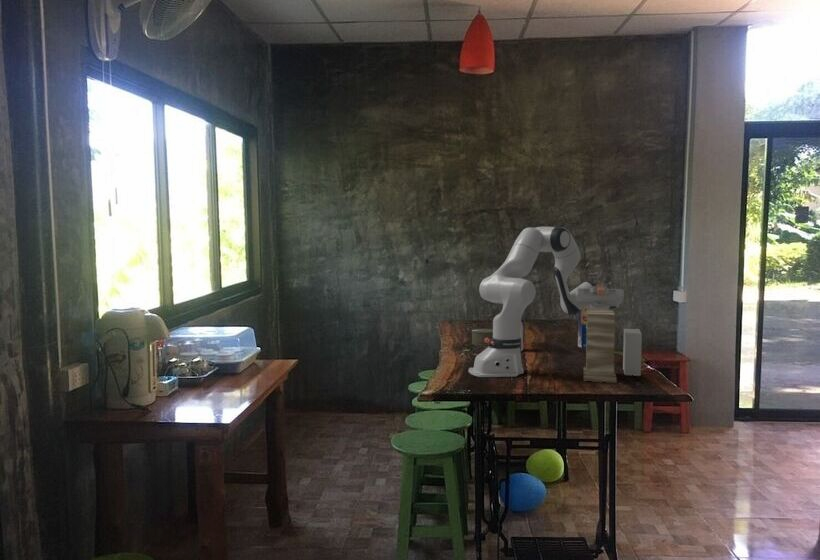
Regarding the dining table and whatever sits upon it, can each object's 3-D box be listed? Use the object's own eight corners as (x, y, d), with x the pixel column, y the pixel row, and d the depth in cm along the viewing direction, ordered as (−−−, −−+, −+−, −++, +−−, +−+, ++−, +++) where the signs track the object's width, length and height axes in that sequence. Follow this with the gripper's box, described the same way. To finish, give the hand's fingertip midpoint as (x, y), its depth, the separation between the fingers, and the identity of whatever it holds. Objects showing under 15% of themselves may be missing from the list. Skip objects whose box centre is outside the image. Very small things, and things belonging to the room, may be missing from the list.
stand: (616, 383, 242) (617, 315, 239) (583, 381, 245) (584, 314, 243) (613, 372, 259) (615, 309, 257) (583, 371, 262) (584, 308, 260)
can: (494, 346, 320) (494, 332, 319) (470, 345, 322) (470, 331, 321) (495, 341, 332) (495, 328, 331) (472, 341, 334) (472, 328, 333)
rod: (604, 296, 251) (604, 289, 251) (598, 296, 251) (598, 289, 251) (602, 290, 275) (602, 284, 275) (596, 290, 275) (596, 284, 275)
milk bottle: (522, 352, 303) (523, 310, 301) (506, 351, 304) (506, 310, 303) (523, 349, 310) (523, 308, 309) (507, 348, 312) (507, 308, 310)
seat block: (640, 375, 253) (641, 333, 252) (624, 375, 255) (625, 333, 254) (638, 369, 265) (639, 329, 264) (622, 368, 266) (623, 328, 265)
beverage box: (603, 348, 312) (604, 303, 310) (581, 348, 312) (582, 303, 310) (599, 345, 319) (600, 302, 317) (577, 345, 319) (578, 302, 317)
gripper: (574, 293, 287) (574, 280, 275) (622, 294, 282) (624, 281, 270) (574, 306, 285) (574, 293, 273) (622, 307, 280) (624, 294, 268)
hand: (600, 287), depth 271 cm, fingers closed on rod, 2 cm apart
